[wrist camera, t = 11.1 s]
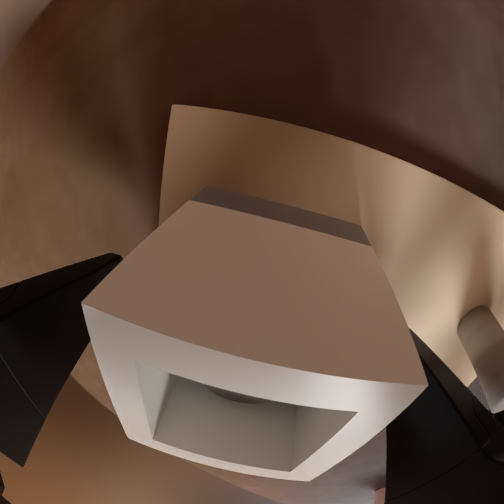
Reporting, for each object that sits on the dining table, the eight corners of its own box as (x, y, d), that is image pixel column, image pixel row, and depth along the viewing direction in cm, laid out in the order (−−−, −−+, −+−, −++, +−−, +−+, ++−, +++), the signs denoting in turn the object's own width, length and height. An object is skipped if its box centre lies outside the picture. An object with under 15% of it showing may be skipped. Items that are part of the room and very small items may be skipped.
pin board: (547, 241, 8) (607, 301, 3) (459, 378, 12) (481, 448, 8) (184, 104, 8) (68, 107, 3) (165, 324, 13) (116, 414, 8)
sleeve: (360, 225, 8) (428, 385, 3) (312, 338, 11) (309, 481, 5) (205, 186, 8) (81, 302, 3) (191, 307, 11) (128, 438, 6)
